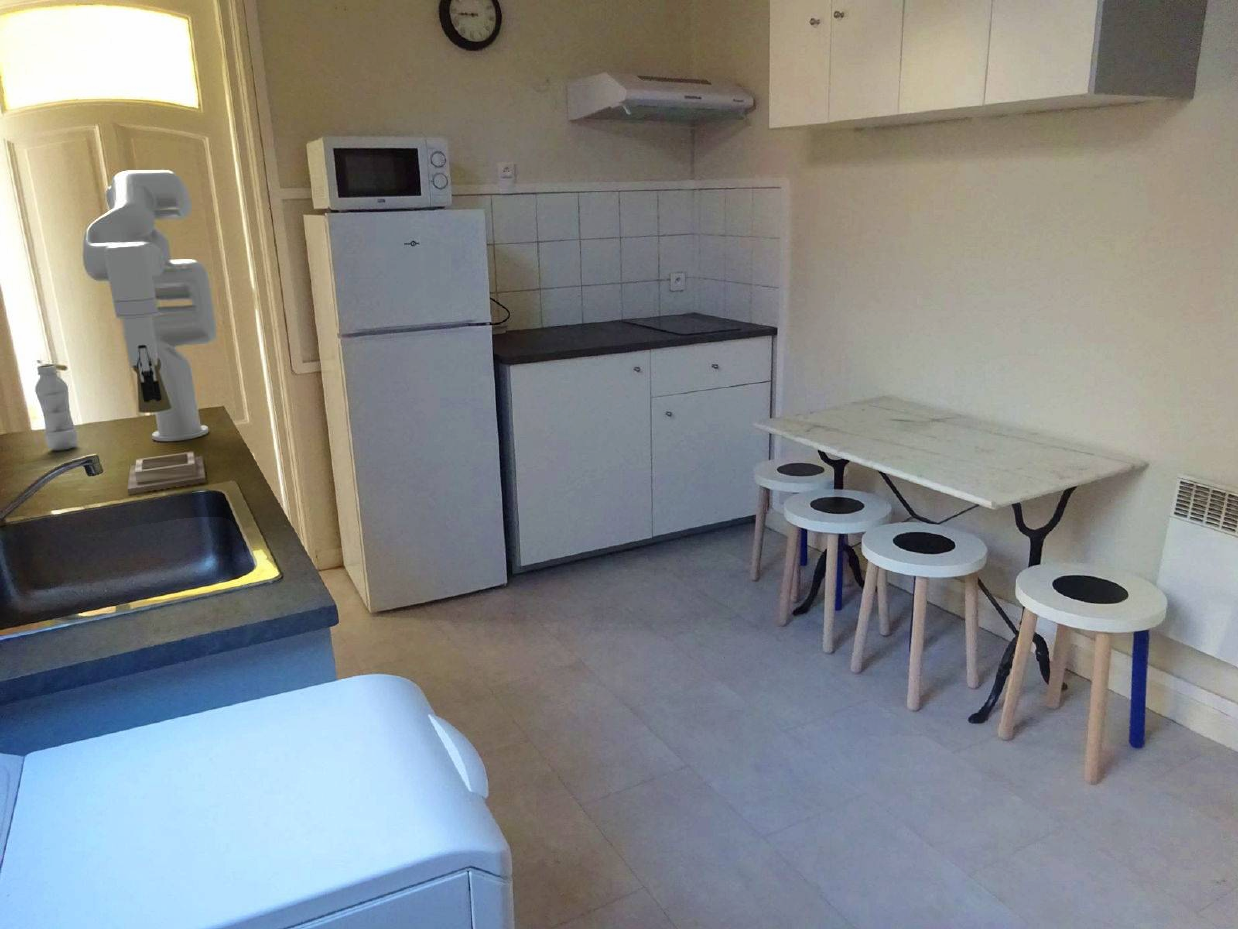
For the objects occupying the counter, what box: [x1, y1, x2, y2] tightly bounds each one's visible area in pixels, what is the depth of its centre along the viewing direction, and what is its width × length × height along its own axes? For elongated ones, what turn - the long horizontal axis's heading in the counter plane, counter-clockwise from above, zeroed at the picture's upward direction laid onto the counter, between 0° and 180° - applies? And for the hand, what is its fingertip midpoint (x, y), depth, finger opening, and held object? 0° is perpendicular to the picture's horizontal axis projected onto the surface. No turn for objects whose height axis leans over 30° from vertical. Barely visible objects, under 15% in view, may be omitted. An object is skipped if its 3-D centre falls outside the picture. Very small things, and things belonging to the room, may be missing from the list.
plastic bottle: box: [34, 364, 80, 451], centre depth 204 cm, size 6×7×20 cm
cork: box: [132, 358, 171, 414], centre depth 177 cm, size 6×6×11 cm
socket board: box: [127, 451, 207, 495], centre depth 182 cm, size 18×14×3 cm
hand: (153, 398), depth 178 cm, fingers closed on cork, 4 cm apart
